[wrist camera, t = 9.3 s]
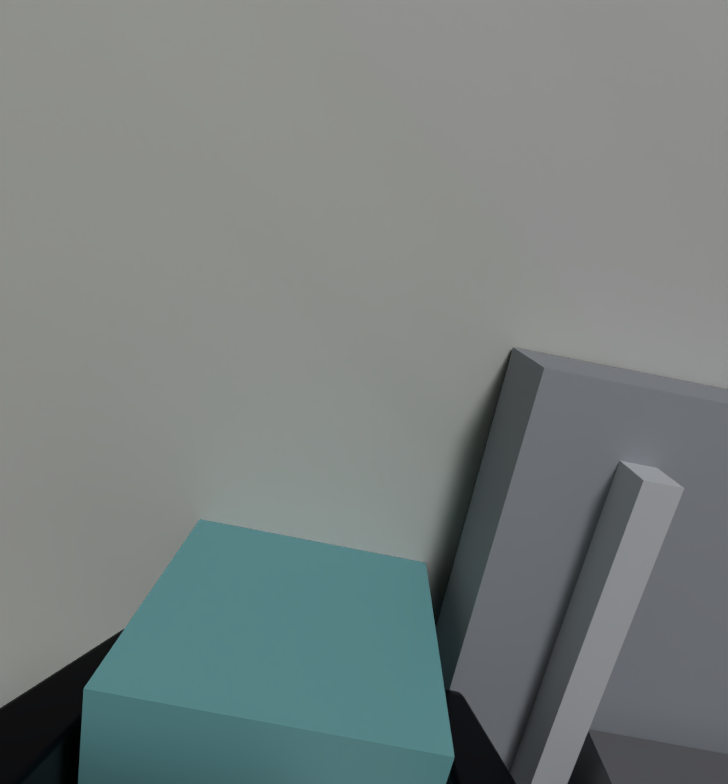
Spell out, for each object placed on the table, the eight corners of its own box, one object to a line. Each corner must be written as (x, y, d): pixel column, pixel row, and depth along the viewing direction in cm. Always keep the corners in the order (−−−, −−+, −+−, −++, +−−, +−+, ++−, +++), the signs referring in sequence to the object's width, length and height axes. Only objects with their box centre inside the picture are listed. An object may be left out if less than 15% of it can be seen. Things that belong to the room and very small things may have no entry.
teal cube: (379, 737, 10) (378, 991, 6) (177, 700, 10) (68, 937, 6) (425, 562, 9) (454, 756, 5) (199, 519, 9) (83, 689, 5)
